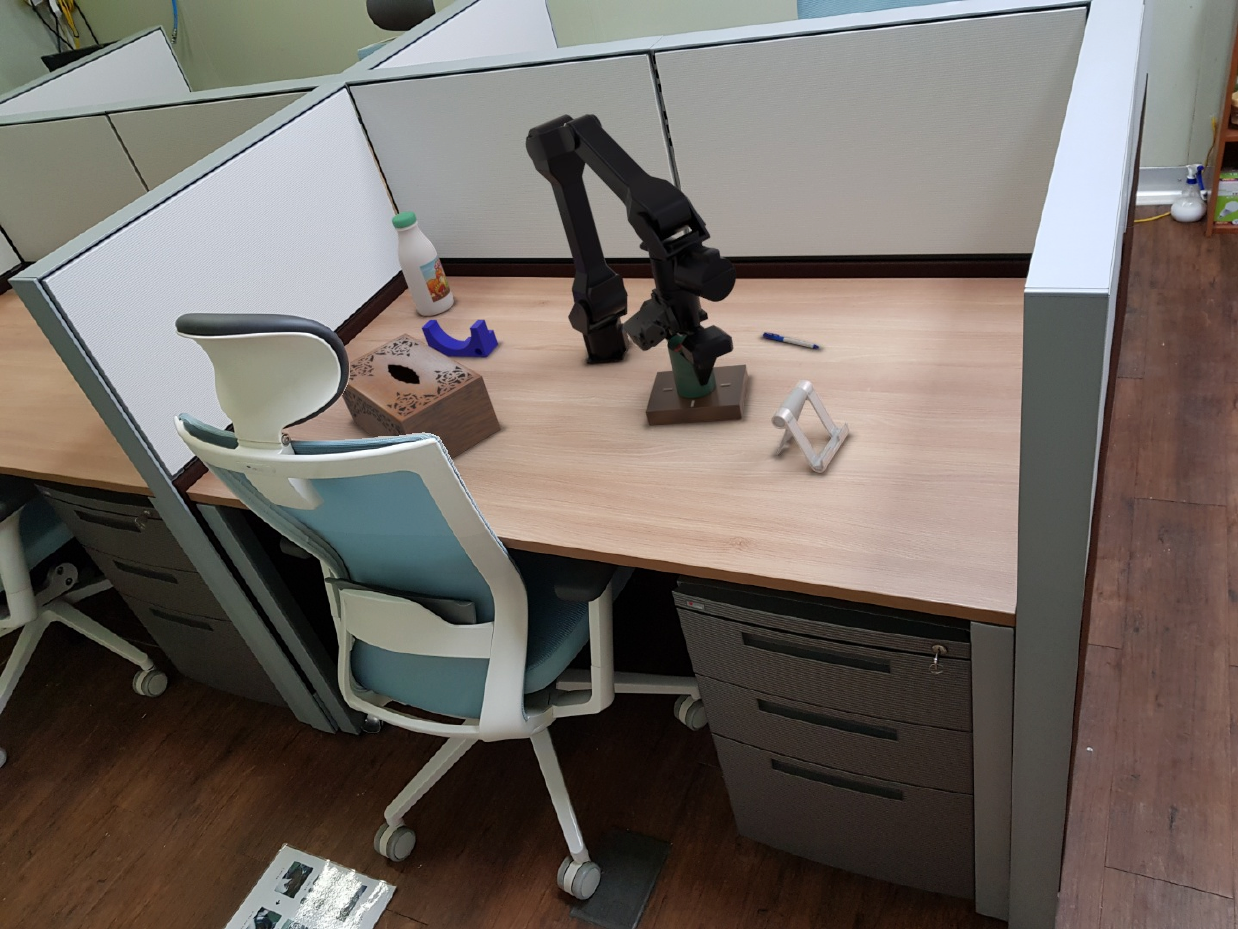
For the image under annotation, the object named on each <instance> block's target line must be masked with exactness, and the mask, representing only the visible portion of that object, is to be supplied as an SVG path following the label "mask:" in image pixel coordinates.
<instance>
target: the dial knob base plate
mask: <svg viewBox="0 0 1238 929" xmlns="http://www.w3.org/2000/svg"><path fill="white" fill-rule="evenodd" d="M713 369H714V374H715V380H716V387H715V389H714V390H713V391H712V392H711V393H709V394H707V395H705V396H703V397H699V398H685V397H682V396H680V395H679V394H678V393H677V390H676V385H675V380H674V375H673V371H672V370H664V371H663V370H662V371H656V375H655V378H654V382H653V384H652V388H651V392H650V396H649V399H648V402H647V405H646V409H645V415H646V419H647V424H648V426H655V425H656V426H658V425H659V426H660V425H672V424H686V423H700V422H701V423H702V422H715V421H731V420H742V419H743V412H744V407H745V399H746V395H747V394H746V393H747V387H748V382H749V374H748V368H747V364H735V365H723V366H714V367H713Z"/></svg>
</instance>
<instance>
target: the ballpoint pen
mask: <svg viewBox="0 0 1238 929" xmlns="http://www.w3.org/2000/svg"><path fill="white" fill-rule="evenodd" d="M762 337H763V338H765V339H770V340H773V341H778V342H784V343H788V344H792V345H797V346H801V347H807V348H811V349H819V348H820V346H819V345H817V344H815V343H810V342H806V341H801V340H797V339H793V338H790V337H789V338H788V337H785V336H781V335H780V334H777V333H773V332H766V331H765V332H763V334H762Z"/></svg>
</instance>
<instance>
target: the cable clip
mask: <svg viewBox="0 0 1238 929" xmlns="http://www.w3.org/2000/svg"><path fill="white" fill-rule="evenodd" d="M421 330H422V333H423V336H424V338H425V341H426V345H428V346H430V347H431V348H433V349H435V350H437V351H438V352H440V353H442V354H444V355H446V356H447V357H453V358H454V357H458V358H459V357H461V358H462V357H463V358H467V357H468V358H487V357H488V356H489V355H490V354H491V353H492V352H493V350H494V349H495V348H496V347H497V346H498V345H499V342H498V340H497V339H498V338H497V336H496V333H495V331H494V329H489V328H488V325H487V322H486V319H477V320H476V321H475V322H473V324H472V325H471V326H470V327H469V331H470V336H468V337H467V338H465V340H460V339H457V338H454V337H453V336H451V335H449V334H448V333H447V332H446V331H444V329H443V327H441V325H440V324H439V321H438V320H437V319H429V320H428V321H426V323H425V324H424V325H423V326H421Z"/></svg>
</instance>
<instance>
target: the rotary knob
mask: <svg viewBox="0 0 1238 929" xmlns="http://www.w3.org/2000/svg"><path fill="white" fill-rule="evenodd" d="M686 336H687V335H685V336H683V337H680V336H679V335H678V334H677V335H675V336H674V337H672V338H671V339H670V340H669V341H668V342H666V343H667V344H666V347H667V352H668V356H669V362H670V366H671V371H673V375H674V380H675V385H676V390H677V393H678V394H679V395H680V396H682V397H685V398H699V397H703V396H705V395H707V394H709V393H711V392H712V391H713V390H714V389H715V387H716V380H715V374H714V369H713V370H712V373H711V376H710V379H709V382H708V384H707V385H704V386H701V385H700V384H699V381H698V379H697V376H696V374H695V371H694V368H693V366H692V363H691V362H689V361H687V360H686V359H685V358H684V357H682V356H681V355H680V354H679V353H681V352H683V351H682V346H681V344H682V342H683V340H684V339H685V337H686Z"/></svg>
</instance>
